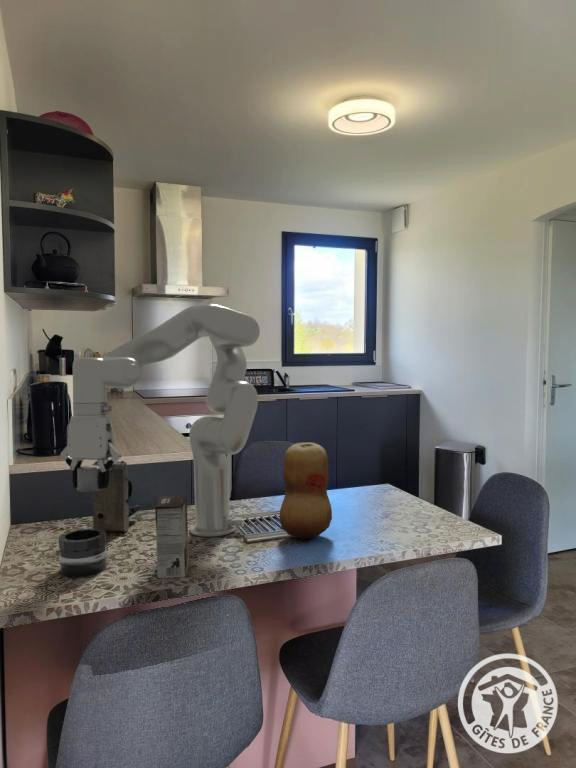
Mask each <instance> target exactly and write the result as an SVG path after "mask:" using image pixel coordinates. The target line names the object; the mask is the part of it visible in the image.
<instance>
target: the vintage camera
mask: <svg viewBox="0 0 576 768" xmlns="http://www.w3.org/2000/svg"><path fill="white" fill-rule="evenodd" d="M92 466H99V464H98V462H97V460H96V461H94V462H93V464H92ZM132 493H133V484H132V482H131V480H129V472H128V464H127V462H126V461H124V460H121V461H117V462H116V463H115V465H114V466H113V467H112V468H111V470H109V484H108V487H107V488H104V489H103V490H100V491H94V492H91V495H92V499H91V500H92V503H91V504H92V523H93V524H92V528H94V529H102V530H104V531H105V533H127V532H128V531H129V527H130V518H131V517H132V516H133V515H135V514H136V513H137V512H139V511H140V510H141V509H142V508H143V506H141V505H140V504H138V503H137V504H135V505H133V506H130V505H129V504H130V503H129V502H130V498H131V497H132ZM126 531H127V532H126Z"/></svg>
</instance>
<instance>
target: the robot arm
mask: <svg viewBox="0 0 576 768" xmlns="http://www.w3.org/2000/svg"><path fill="white" fill-rule="evenodd" d="M260 332H261V331H260V325H259V324H258V321H257V320H256V319H255V318H254V317H252V316H251V315H250V314H247V313H244V312H240V311H238V310H234V309H231V308H229V307H225V306H222V305H219V304H215V303H206V304H205V303H204V304H197V305H191V306H188V307H186V308H184V309H183V310H181V311H179V312H178V313H177V314H174V316H171V318H169V319H167V320H166V321H164V322H163V323H161V324H159V325H158V326H156V327H154V328H153V329H151V330H149V331H147V332H144V333H142V334H141V335H139V336H138V337H134V338H133V339H131V340H129V341H127V342H124V343H123V344H121V345H119V346H117V347H116V348H114V349H112V350H110V351H109V352H107V353H106V354H104V355H103V356H101V357H88V356H86V357H77V358H75V359H74V360H73V362H72V416H70V419H69V425H68V431H67V432H68V433H67V445H66V446H65V447H64V448H63V450H62V451H61V452H60V457H62V459H63V461H65V463H66V464H67V466H68V467H69V470H70V471H72V487H73V488H74V489H77V468H79V467H83V462H84V460H93V461H94V460H96V461H97V462H98V464H99V467H100V470H101V472H99V473H98V488H99V489H104V488H107V487H108V484H109V470H111V468H112V467H113V466H114V465H115V463H116V462H119V460H120V459H121V458H122V454H121V453H120V452H119V451H118V449H117V448H116V444H115V443H116V441H115V433H114V426H113V425H114V424H113V422H112V421H113V420H112V418H111V415H108V412H111V411H112V406H111V405H108V388H116V389H128V388H129V389H130V388H132V387H136V385H137V384H139V383H140V381H141V380H142V378H143V369H142V367H144V366H147V365H151V364H154V363H158V362H163V361H165V360H168V359H171V358H173V357H175V356H176V355H178V353H180V352H181V351H183V350H185V349H186V348H187V347H189V346H190V345H192V344H193V343H194V342H196V341H197V340H199V339H202V338H204V337H205V338H206V337H209V340H210V342H211V344H212V345H213V346H212V347H214V349H215V353H216V358H217V359H216V361H217V362H216V366H215V368H214V369H215V370H214V373H213V375H212V379H211V382H210V385H209V388H208V391H207V394H206V398H205V403H206V407H207V408H208V410H209V411H211V412H212V413H215V414H219V415H223V417H220V416H219V417H217V416H204V417H200V418H198V419H196V420H195V421H194V422H193V423H192V425H191V426H190V429H189V434H188V436H189V437H188V438H189V445H190V448H191V453H192V460H193V481H194V484H193V485H194V487H193V488H194V514H195V515H194V516H195V523H193V524H192V525H191V526H190V527H189V532H190V534H191V535H194V536H196V537H197V536H198V537H203V538H204V537H205V538H206V537H207V538H209V537H210V538H211V537H213V538H214V537H221V536H225V535H226V536H227V535H229V534H231V533H233V532H235V530H236V528H237V527H241V528H242V527H243V528H244V526H245V519H243V517H235V516H234V512H233V511H231V510H230V506H231V505H230V480H229V479H230V478H229V477H230V476H229V475H230V474H229V473H230V471H229V470H230V469H229V463H228V458H227V456H231V455H236V454H238V453H240V452H241V451H242V449H243V448H244V447H245V445H246V443H247V441H248V438H249V435H250V432H251V429H252V427H253V423H254V419H255V415H256V413H257V410H258V405H259V398H258V397H259V396H258V392H257V389H256V387H254V385H253V384H251V383H250V382H248V381H244V380H245V376H246V372H247V364H248V363H247V358H246V356H245V353H244V350H243V349H242V348H243V347H249V346H252V345H254V344H255V343H256V342H257V341H258V339H259V337H260ZM109 458H110V459H109Z"/></svg>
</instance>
